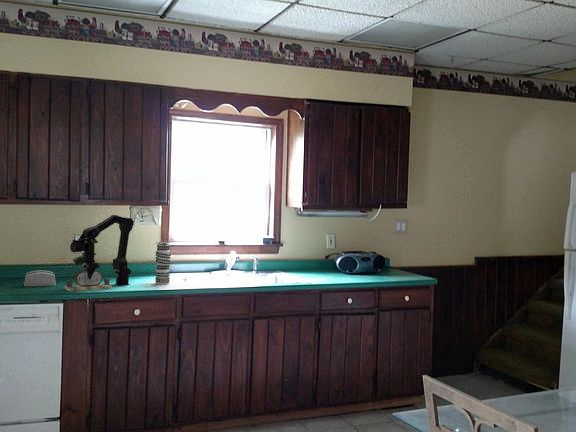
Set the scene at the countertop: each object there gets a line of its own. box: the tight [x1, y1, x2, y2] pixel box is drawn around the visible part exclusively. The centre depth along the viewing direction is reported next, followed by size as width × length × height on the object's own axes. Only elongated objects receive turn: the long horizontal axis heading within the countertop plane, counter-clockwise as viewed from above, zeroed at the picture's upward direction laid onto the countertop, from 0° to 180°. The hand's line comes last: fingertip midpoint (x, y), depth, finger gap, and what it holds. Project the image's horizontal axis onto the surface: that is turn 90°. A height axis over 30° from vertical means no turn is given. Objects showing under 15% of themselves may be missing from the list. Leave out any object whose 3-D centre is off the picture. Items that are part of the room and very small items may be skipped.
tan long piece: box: [63, 277, 113, 292], centre depth 351 cm, size 24×9×5 cm, turn 125°
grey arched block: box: [23, 269, 56, 287], centre depth 355 cm, size 17×5×10 cm, turn 114°
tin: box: [74, 270, 103, 286], centre depth 351 cm, size 15×3×8 cm, turn 125°
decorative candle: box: [154, 241, 172, 286], centre depth 377 cm, size 9×9×25 cm
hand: (88, 278), depth 351 cm, fingers closed on tin, 2 cm apart
